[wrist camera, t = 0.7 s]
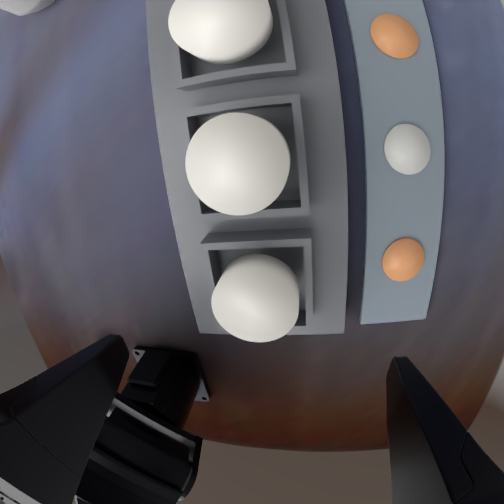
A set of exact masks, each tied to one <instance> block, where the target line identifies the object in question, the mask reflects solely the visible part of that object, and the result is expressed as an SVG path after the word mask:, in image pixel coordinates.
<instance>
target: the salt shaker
mask: <svg viewBox="0 0 504 504" xmlns="http://www.w3.org/2000/svg"><path fill="white" fill-rule="evenodd" d="M54 2H55V0H0V9H3V10H5V11H8V12H11V13H13V14H16V15H18V16H23V15H27V14H30V13H34V12H38V11H41V10H43V9H45V8H46V7H48V6H50V5H51V4H53V3H54Z"/></svg>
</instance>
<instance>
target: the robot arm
mask: <svg viewBox="0 0 504 504" xmlns="http://www.w3.org/2000/svg"><path fill="white" fill-rule="evenodd" d="M133 354H134V356H135V359H136V361H137V365H136V366H135V368H134V369H133V371H132V373H131V374H130V376H129V377H128V379H127V381H128V383H127V384H126V386H125V388H124V389H123V391H122V392H121V394H120V393H118V392H117V390H118V388H119V385H120V382H121V379H122V376H123V373H124V370H125V367H126V364H127V361H128V359H129V350H128V348H127V346H126V344H125V341H124V339H123V337H122V336H121V335H118V334H109V335H107V336H106V337H104V338H102V339H100V340H99V341H97V342H95V343H93V344H92V345H90V346H88V347H86V348H85V349H83V350H81V351H79V352H78V353H76V354H74V355H72V356H70V357H69V358H67V359H65V360H63V361H62V362H60V363H58V364H56V365H55V366H53V367H51V368H49V369H48V370H46V371H44V372H42V373H41V374H39V375H38V376H35V377H33V378H32V379H30V380H28V381H26V382H24V383H23V384H21V385H19V386H17V387H15V388H12V389H10V390H8V391H6V392H4V393H2V394H0V504H72V502H73V499H74V497H75V502H76V504H176V502H177V501H181V500H183V499H184V498H185V497H186V496H187V495H188V494H189V492H190V490H191V488H192V487H193V485H194V483H195V480H196V477H197V472H198V466H199V459H200V452H201V446H202V440H203V438H201V437H199V436H194V435H192V434H190V433H188V432H186V431H184V430H183V428H184V426H185V423H186V420H187V418H188V415H189V413H190V410H191V408H192V405H193V403H194V400H197V401H205V402H207V401H209V400H210V394H209V391H208V388H207V385H206V382H205V379H204V376H203V373H202V370H201V367H200V364H199V361H198V358H197V356H196V355H195V354H194V353H191V352H180V351H170V350H160V349H152V348H143V347H135V348H134V349H133ZM386 389H387V431H388V441H389V452H390V466H391V484H392V485H391V486H392V504H504V472H503V471H502V470H501V469H500V468H499V467H498V466H497V465H496V464H495V462H494V461H493V460H492V459H491V458H490V457H489V456H488V455H487V454H486V453H485V452H484V450H483V449H482V448H481V447H480V445H479V444H478V443H477V442H476V441H475V439H474V438H473V437H472V435H471V434H470V433H469V432H467V429H466V428H465V426H464V425H463V424H462V423H461V421H460V420H459V419H458V418H457V416H456V415H455V414H454V413H453V411H452V410H451V409H450V408H449V406H448V405H447V404H446V403H445V401H444V400H443V399H442V398H441V397H440V395H439V394H438V393H437V392H436V390H435V389H434V388H433V387H432V386H431V384H430V383H429V382H428V381H427V380H426V378H425V377H424V376H423V375H422V374H421V373H420V371H419V370H418V369H417V368H416V367H415V365H414V364H413V363H412V362H411V361H410V360H409V359H408V357H406V356H395V357H393V359H392V361H391V364H390V367H389V370H388V373H387V377H386ZM107 416H108V417H107Z"/></svg>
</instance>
